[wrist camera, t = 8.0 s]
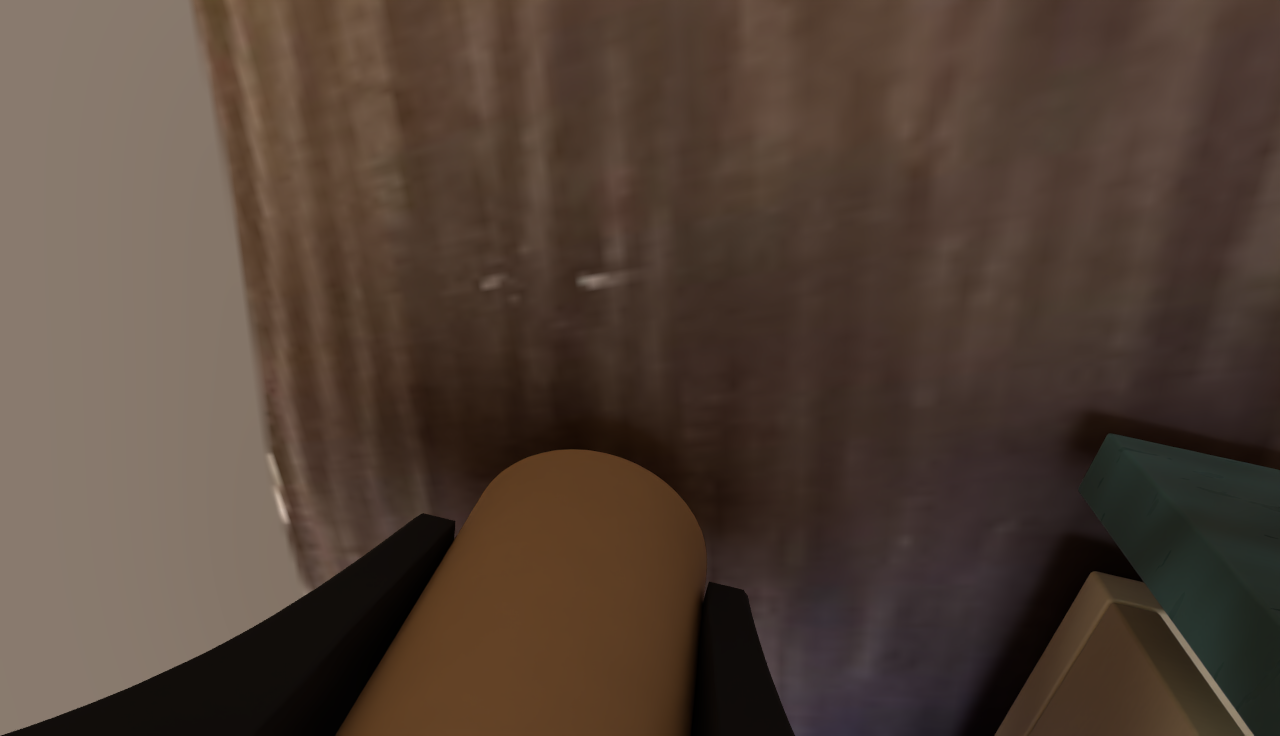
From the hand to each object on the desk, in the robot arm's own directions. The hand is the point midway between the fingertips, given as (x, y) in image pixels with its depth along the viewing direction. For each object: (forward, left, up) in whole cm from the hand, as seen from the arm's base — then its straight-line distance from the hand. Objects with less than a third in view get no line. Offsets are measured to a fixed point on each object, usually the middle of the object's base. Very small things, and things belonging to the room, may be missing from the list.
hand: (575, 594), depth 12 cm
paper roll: (0, 0, -1) cm, 1 cm away
